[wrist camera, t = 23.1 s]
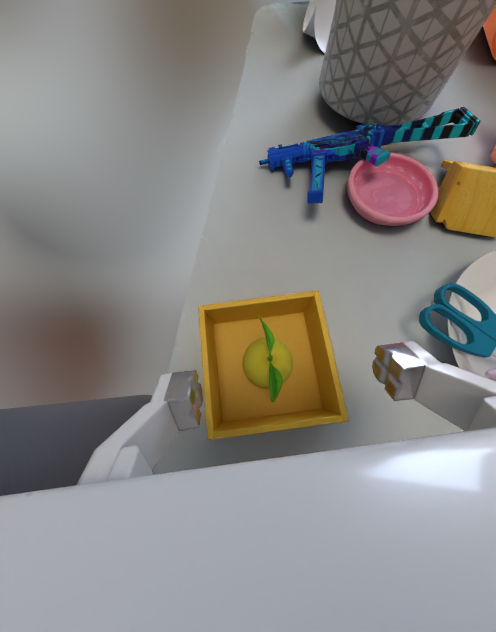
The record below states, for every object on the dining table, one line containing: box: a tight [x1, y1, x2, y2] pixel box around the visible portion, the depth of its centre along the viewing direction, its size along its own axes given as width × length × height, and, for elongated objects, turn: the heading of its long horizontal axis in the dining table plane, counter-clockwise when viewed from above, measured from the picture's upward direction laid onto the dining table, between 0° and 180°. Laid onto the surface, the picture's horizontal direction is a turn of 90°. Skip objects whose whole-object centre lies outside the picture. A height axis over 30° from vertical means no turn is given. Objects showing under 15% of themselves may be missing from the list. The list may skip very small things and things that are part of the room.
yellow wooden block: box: [430, 160, 496, 237], centre depth 35 cm, size 10×10×9 cm
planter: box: [319, 0, 496, 126], centre depth 33 cm, size 19×19×18 cm
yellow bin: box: [198, 291, 349, 440], centre depth 26 cm, size 13×13×7 cm
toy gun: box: [259, 107, 480, 203], centre depth 33 cm, size 3×30×15 cm
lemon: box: [242, 315, 293, 403], centre depth 24 cm, size 7×6×10 cm
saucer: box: [347, 153, 439, 226], centre depth 34 cm, size 12×12×3 cm
